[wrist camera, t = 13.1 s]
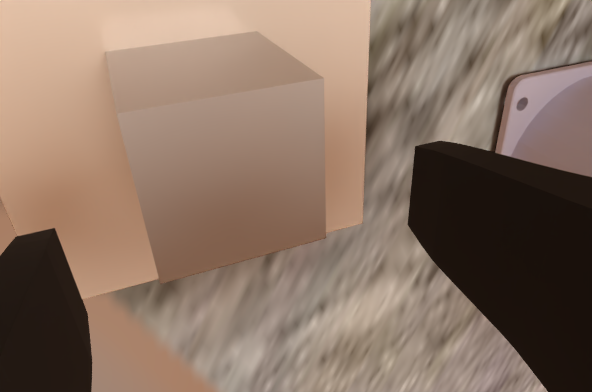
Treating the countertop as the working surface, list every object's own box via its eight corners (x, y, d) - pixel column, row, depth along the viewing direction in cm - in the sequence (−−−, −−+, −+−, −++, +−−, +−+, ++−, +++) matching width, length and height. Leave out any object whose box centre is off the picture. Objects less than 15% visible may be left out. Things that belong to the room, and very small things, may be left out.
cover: (350, 209, 19) (432, 301, 15) (50, 288, 16) (39, 435, 11) (357, -125, 13) (497, -140, 9) (-117, -106, 10) (-266, -114, 6)
